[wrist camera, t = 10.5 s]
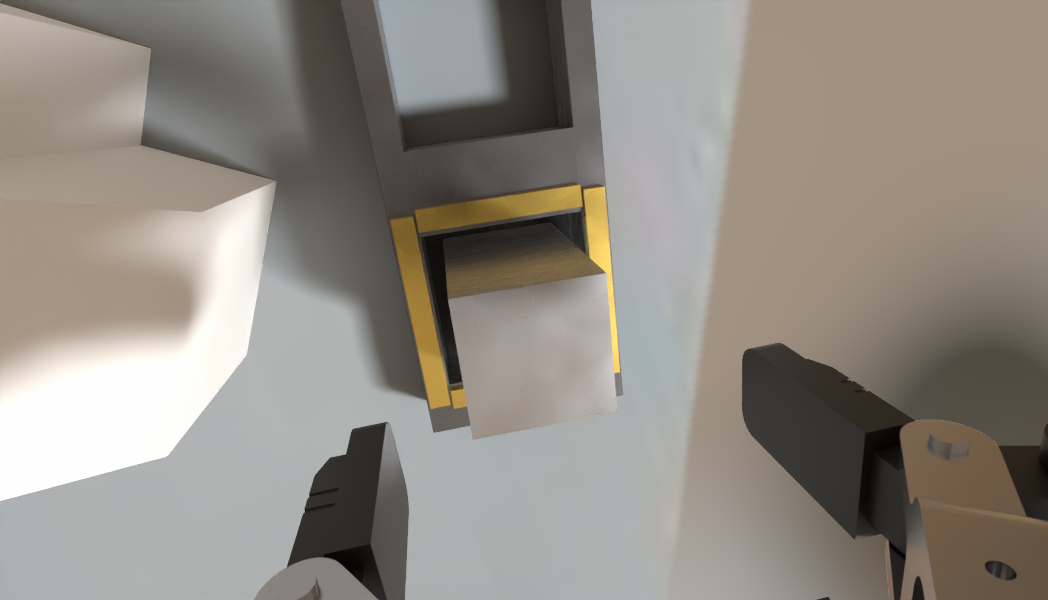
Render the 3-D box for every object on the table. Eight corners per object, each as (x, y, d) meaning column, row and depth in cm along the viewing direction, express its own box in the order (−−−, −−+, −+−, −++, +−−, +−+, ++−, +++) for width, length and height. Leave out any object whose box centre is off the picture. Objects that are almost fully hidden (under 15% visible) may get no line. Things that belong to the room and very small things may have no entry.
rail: (249, -466, 16) (214, -580, 13) (528, -475, 16) (545, -583, 14) (433, 403, 25) (433, 435, 22) (605, 369, 26) (624, 397, 23)
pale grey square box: (443, 238, 23) (447, 299, 15) (550, 222, 23) (606, 273, 16) (460, 339, 24) (473, 439, 17) (561, 321, 25) (617, 411, 17)
